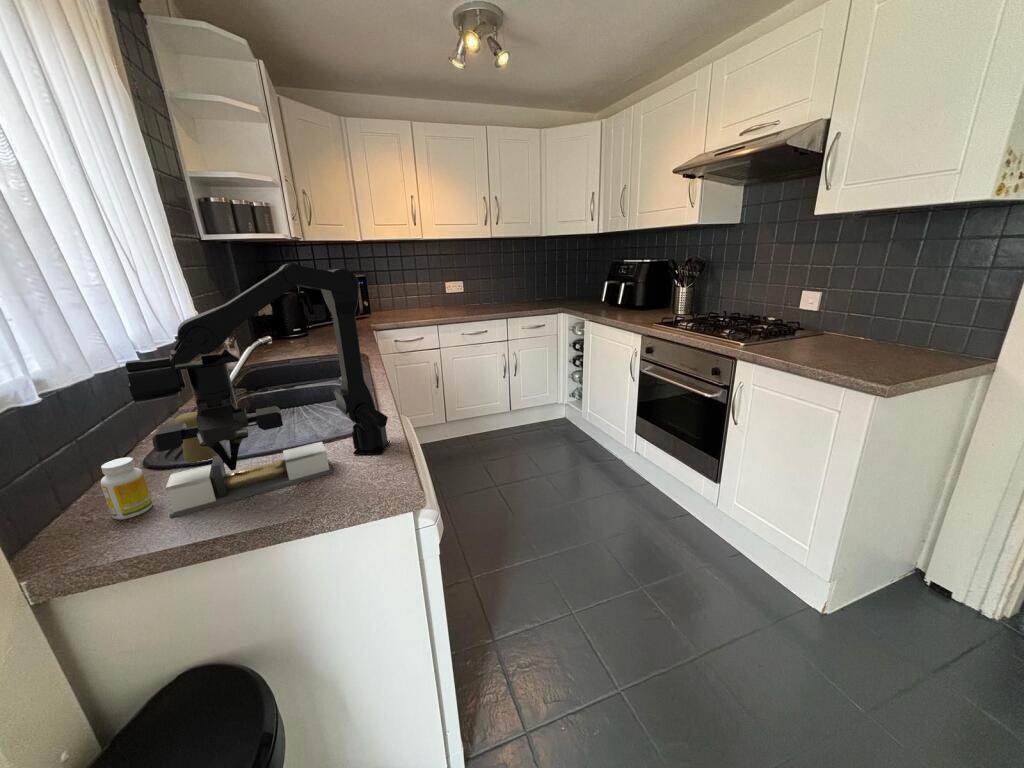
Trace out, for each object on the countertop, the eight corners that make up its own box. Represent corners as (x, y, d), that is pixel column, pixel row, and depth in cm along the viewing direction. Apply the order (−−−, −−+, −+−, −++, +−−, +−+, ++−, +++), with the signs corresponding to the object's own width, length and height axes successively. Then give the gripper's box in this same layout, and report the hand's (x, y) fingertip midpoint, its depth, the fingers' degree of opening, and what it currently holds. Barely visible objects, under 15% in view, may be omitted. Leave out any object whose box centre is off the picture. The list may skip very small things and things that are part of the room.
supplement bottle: (104, 521, 68) (85, 471, 66) (129, 504, 74) (113, 456, 71) (138, 518, 69) (120, 468, 66) (161, 501, 74) (145, 454, 71)
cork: (204, 465, 88) (191, 418, 85) (177, 466, 88) (162, 419, 85) (223, 453, 93) (211, 408, 90) (197, 454, 93) (185, 409, 90)
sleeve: (325, 459, 86) (321, 441, 85) (329, 469, 82) (325, 450, 81) (287, 469, 83) (283, 450, 82) (289, 480, 78) (284, 460, 77)
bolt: (293, 467, 83) (287, 439, 81) (295, 476, 79) (289, 448, 77) (191, 493, 75) (182, 463, 73) (188, 505, 71) (178, 474, 69)
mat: (327, 460, 87) (326, 457, 87) (332, 473, 82) (332, 470, 82) (176, 499, 74) (175, 496, 74) (170, 518, 69) (169, 514, 68)
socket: (217, 487, 77) (211, 464, 76) (215, 500, 72) (209, 477, 71) (178, 497, 74) (171, 473, 73) (173, 512, 69) (165, 487, 68)
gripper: (132, 414, 60) (161, 506, 64) (275, 390, 69) (293, 472, 73) (148, 396, 69) (172, 477, 73) (272, 377, 78) (288, 450, 82)
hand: (233, 469), depth 75 cm, fingers closed
